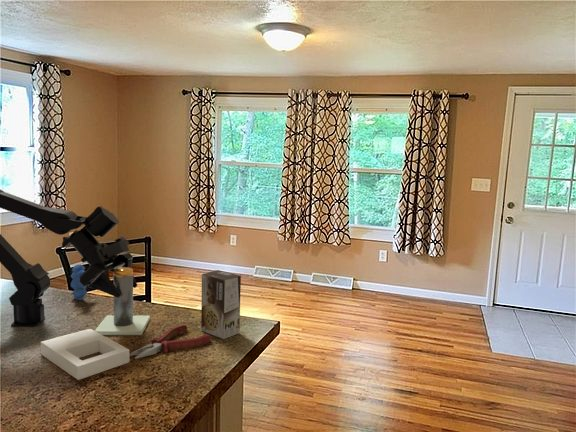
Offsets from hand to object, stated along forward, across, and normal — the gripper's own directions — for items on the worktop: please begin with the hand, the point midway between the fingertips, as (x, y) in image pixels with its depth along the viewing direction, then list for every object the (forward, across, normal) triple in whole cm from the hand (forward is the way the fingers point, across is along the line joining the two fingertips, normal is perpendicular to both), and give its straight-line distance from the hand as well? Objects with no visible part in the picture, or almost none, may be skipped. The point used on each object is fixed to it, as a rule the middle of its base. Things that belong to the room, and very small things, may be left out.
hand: (128, 291), depth 128 cm
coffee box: (+25, +3, -10) cm, 27 cm away
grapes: (-10, +18, +25) cm, 32 cm away
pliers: (+18, -8, -3) cm, 20 cm away
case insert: (+7, -20, +7) cm, 23 cm away
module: (+5, 0, +7) cm, 9 cm away
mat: (+6, 0, +8) cm, 10 cm away
